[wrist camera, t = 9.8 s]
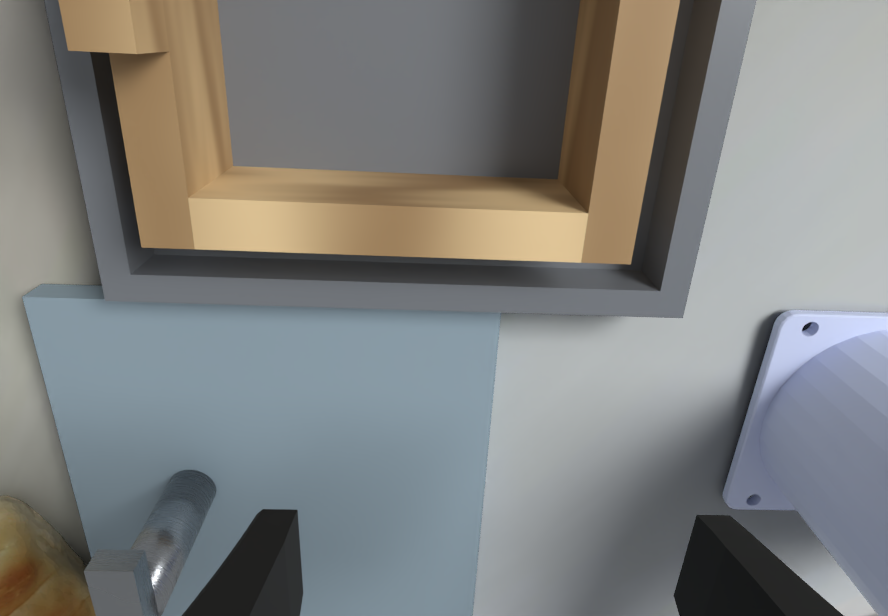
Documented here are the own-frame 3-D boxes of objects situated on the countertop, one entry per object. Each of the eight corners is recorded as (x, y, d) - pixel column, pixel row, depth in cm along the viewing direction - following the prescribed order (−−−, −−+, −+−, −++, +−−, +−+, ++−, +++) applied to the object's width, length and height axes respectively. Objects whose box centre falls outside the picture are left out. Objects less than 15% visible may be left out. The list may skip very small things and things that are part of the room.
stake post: (209, 441, 20) (141, 571, 15) (222, 532, 22) (164, 677, 17) (160, 440, 20) (75, 571, 15) (176, 532, 21) (105, 677, 17)
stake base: (497, 297, 19) (501, 311, 18) (469, 608, 25) (470, 630, 24) (42, 283, 19) (22, 296, 18) (121, 606, 24) (109, 629, 23)
